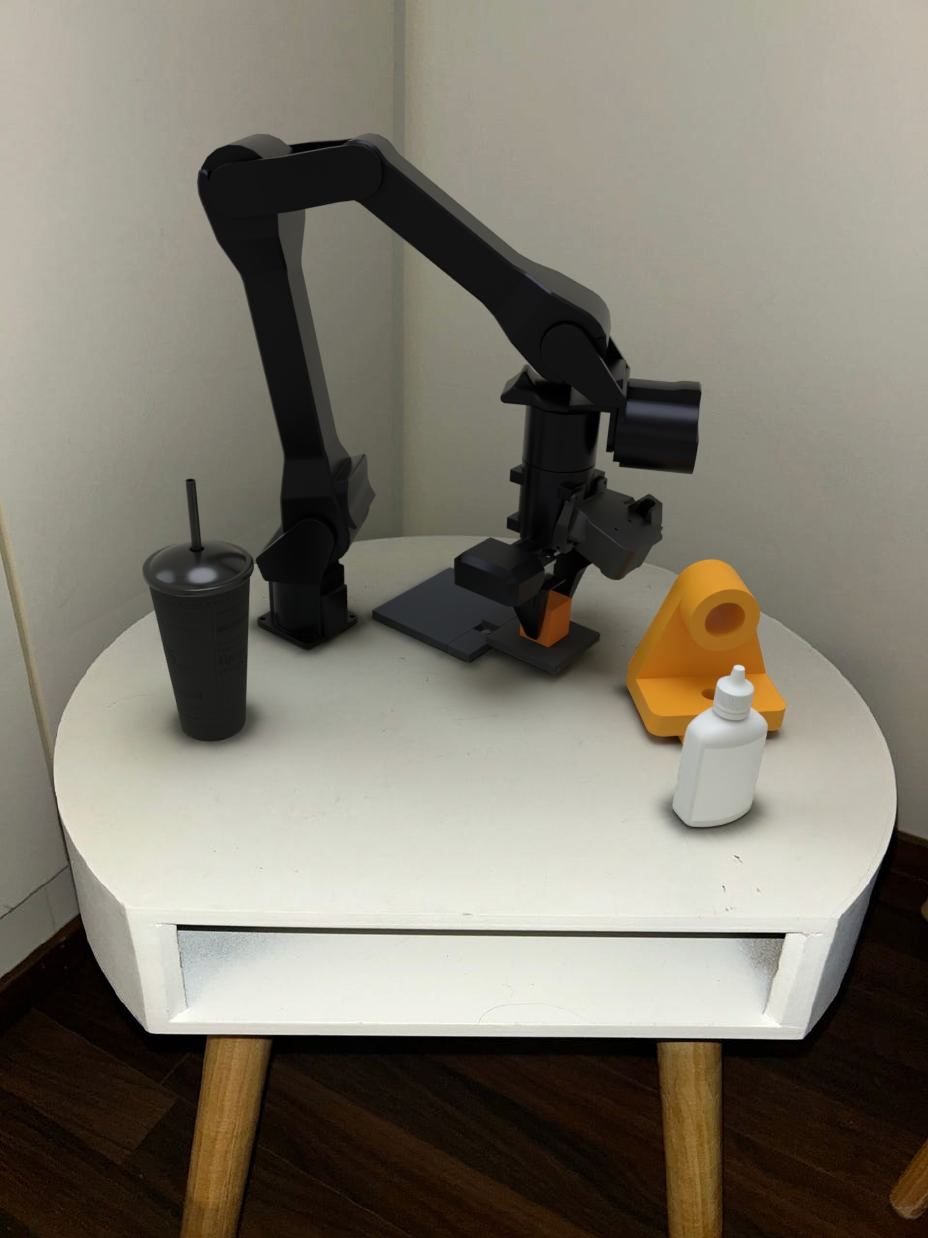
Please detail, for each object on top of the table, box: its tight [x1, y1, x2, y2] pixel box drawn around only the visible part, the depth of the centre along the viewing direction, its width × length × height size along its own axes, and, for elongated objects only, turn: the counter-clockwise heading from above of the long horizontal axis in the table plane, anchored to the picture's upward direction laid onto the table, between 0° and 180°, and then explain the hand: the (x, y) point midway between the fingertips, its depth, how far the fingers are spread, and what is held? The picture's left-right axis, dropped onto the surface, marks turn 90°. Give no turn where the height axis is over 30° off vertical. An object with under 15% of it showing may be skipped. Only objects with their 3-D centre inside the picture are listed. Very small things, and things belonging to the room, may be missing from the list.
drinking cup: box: [141, 477, 255, 742], centre depth 79 cm, size 8×8×20 cm
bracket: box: [625, 558, 787, 745], centre depth 85 cm, size 11×7×12 cm, turn 98°
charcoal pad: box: [371, 566, 515, 663], centre depth 99 cm, size 11×11×1 cm
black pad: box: [482, 590, 601, 675], centre depth 94 cm, size 9×7×4 cm
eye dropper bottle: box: [672, 665, 768, 828], centre depth 75 cm, size 4×6×12 cm
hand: (543, 630), depth 94 cm, fingers closed on black pad, 3 cm apart
